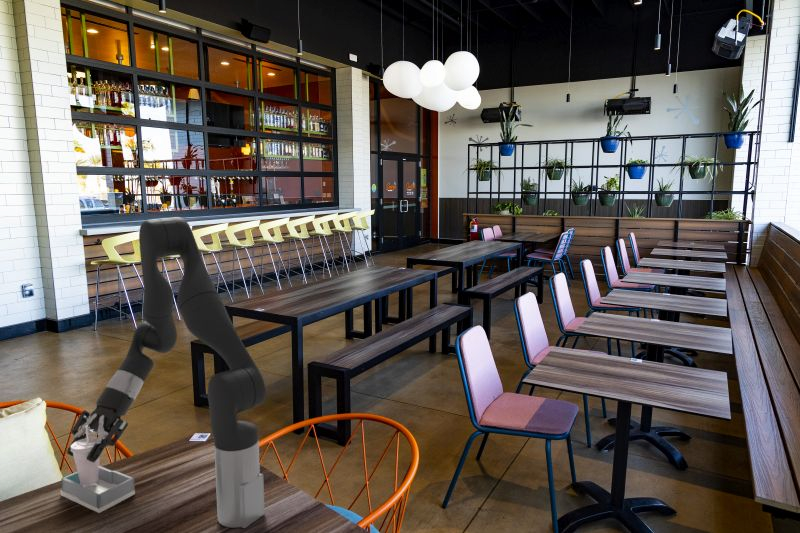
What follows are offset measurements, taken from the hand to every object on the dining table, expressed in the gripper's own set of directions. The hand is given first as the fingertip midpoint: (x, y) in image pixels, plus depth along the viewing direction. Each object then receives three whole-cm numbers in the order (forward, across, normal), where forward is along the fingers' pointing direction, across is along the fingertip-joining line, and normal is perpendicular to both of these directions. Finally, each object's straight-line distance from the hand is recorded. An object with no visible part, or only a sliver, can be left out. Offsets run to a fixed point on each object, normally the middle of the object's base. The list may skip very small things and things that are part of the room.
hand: (80, 457), depth 126 cm
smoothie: (+4, 0, +6) cm, 7 cm away
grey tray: (+6, +4, +7) cm, 10 cm away
